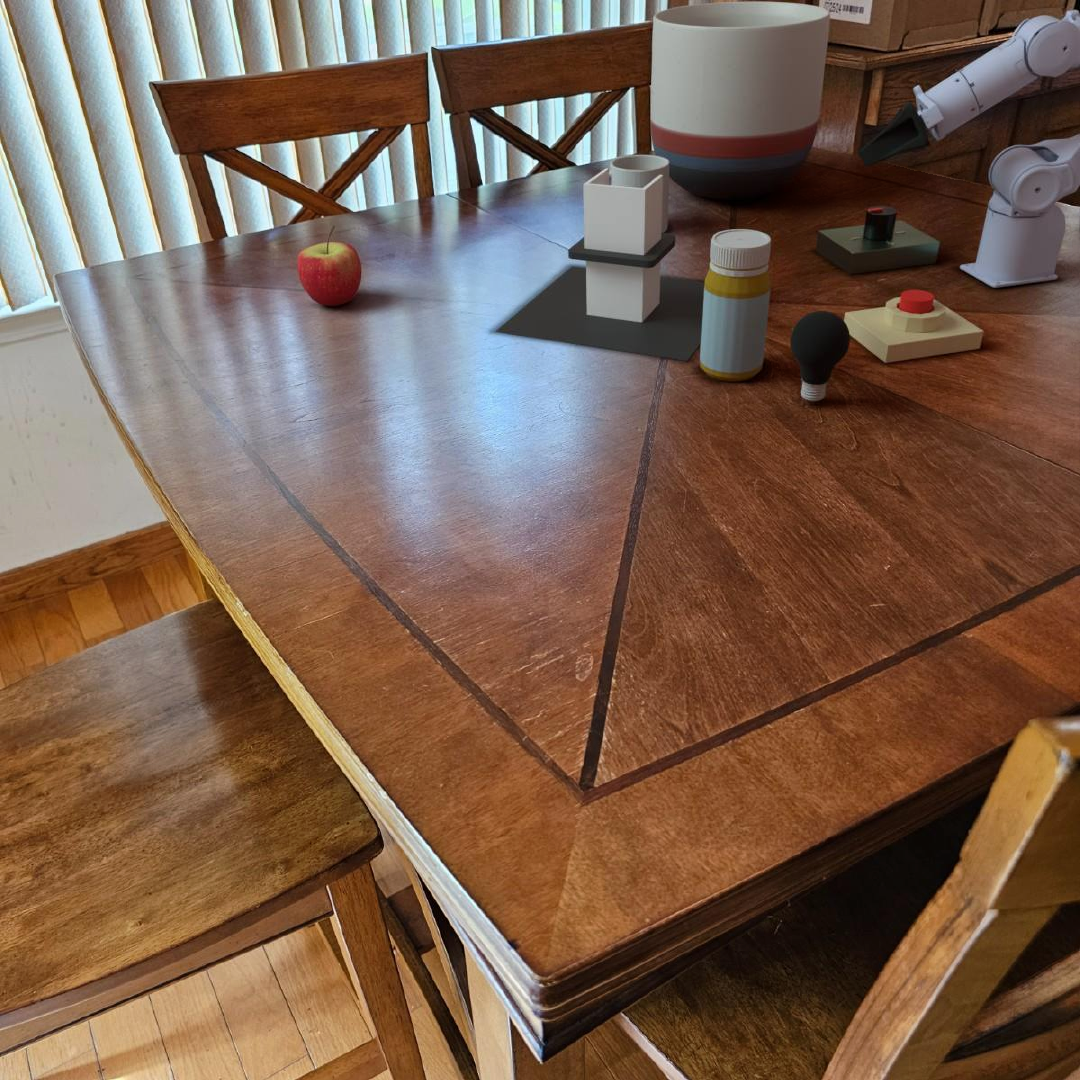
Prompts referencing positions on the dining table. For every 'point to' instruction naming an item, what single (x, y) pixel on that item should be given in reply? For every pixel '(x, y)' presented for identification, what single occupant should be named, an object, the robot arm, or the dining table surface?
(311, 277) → the apple
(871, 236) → the dimmer knob
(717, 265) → the bottle
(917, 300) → the switch button
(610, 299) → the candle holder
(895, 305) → the switch block
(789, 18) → the planter
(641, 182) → the mug
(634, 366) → the dining table surface
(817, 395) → the light bulb
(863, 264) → the dimmer panel
